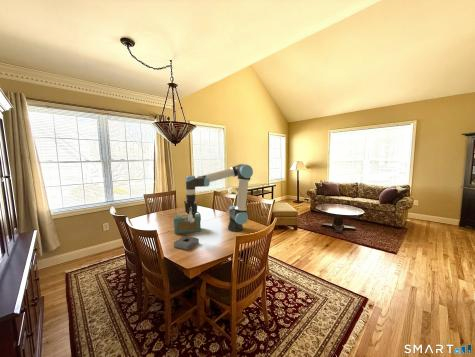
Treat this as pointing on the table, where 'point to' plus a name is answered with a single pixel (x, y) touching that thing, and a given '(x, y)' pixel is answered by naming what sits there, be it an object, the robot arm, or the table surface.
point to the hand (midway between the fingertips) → (191, 221)
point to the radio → (186, 223)
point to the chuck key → (190, 214)
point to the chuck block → (186, 242)
